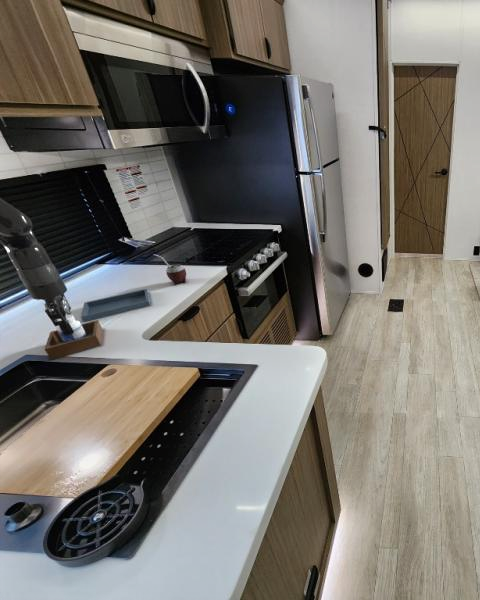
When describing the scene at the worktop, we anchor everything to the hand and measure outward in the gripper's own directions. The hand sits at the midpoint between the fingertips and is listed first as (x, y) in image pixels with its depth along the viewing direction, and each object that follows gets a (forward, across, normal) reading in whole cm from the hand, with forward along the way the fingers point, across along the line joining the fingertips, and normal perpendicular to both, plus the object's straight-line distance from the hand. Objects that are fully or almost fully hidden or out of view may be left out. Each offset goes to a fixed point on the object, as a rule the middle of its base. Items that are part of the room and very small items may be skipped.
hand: (70, 329), depth 101 cm
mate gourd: (+6, -34, +31) cm, 46 cm away
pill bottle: (+6, 0, 0) cm, 6 cm away
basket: (+6, 0, 0) cm, 6 cm away
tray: (+6, -23, +10) cm, 26 cm away
